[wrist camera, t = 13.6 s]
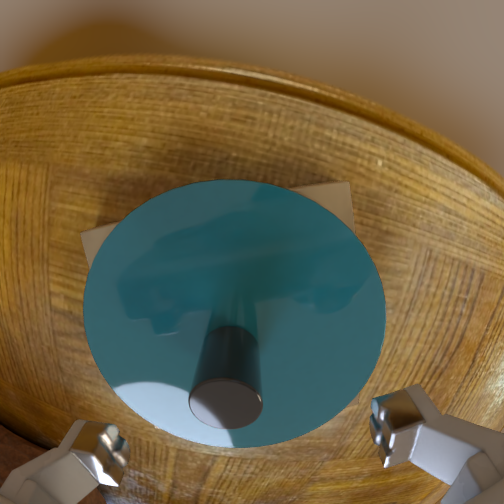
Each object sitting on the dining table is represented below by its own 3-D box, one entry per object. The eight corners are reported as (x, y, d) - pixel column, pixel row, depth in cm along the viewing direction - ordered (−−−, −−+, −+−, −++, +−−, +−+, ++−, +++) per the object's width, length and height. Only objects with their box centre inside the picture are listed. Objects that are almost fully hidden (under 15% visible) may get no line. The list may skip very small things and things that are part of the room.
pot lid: (365, 158, 11) (426, 149, 7) (371, 409, 14) (398, 466, 10) (62, 217, 12) (-6, 237, 7) (147, 436, 15) (128, 493, 10)
